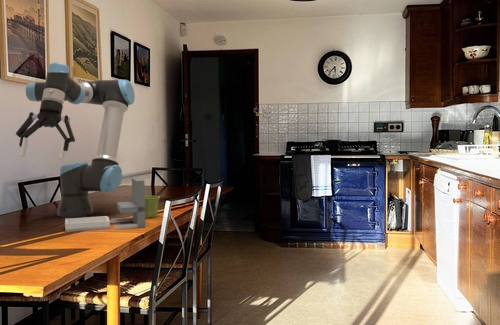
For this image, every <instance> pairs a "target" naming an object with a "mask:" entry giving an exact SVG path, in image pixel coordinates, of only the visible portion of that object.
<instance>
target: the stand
mask: <svg viewBox="0 0 500 325" xmlns="http://www.w3.org/2000/svg"><path fill="white" fill-rule="evenodd" d="M145 190H146V189H145V180H144V179H142V178H141V177H139V176H137V177H135V176H133V177H131V201H123V202H121V201H120V202H119V201H118V202H117V203H116V208H117V210H118V211H119V212H120V214H130V213H131V214H132V217H131V216H130V217H119V218H117V217H116V218H115V217H114V218H111V219H110V224H111V223H112V224H113V223H114V225H113V227H114V228H113V229H114V230H123V229H138V228H146V226H147V225H146V218H145V196H146V194H145V193H146V192H145ZM127 222H129V223H127ZM130 222H132V223H130ZM115 223H120V224H115ZM121 223H122V224H121ZM124 223H125V224H124Z"/></svg>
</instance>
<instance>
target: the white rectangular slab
mask: <svg viewBox="0 0 500 325" xmlns="http://www.w3.org/2000/svg"><path fill="white" fill-rule="evenodd" d="M64 219H65V220H64V228H65V231H64V232H65V233H70V232H71V233H72V232H83V231H98V230H110V229H111V219H110V217H109V216H107V215H104V216H103V215H101V216H89V217H87V216H85V217H69V218H64Z"/></svg>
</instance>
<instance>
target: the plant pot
mask: <svg viewBox="0 0 500 325" xmlns="http://www.w3.org/2000/svg"><path fill="white" fill-rule="evenodd" d="M160 198H161V196H160V195H145V219H146V218H147V219H150V218H152V219H153V218H156V217H157V216H158V209H159V201H160Z"/></svg>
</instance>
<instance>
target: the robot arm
mask: <svg viewBox="0 0 500 325" xmlns="http://www.w3.org/2000/svg"><path fill="white" fill-rule="evenodd" d="M45 77H46V79H45V81H43V82H42V81H41V82H40V81H39V82H37V81H35V82H29V83H27V85H26V87H25V96H26V98H27V99H28V100H29V101H31V102H41V103H40V107H39V112H38V114H37V113H34V112H32V111H30V112H29V115H28V117H27V119H26V120H25V121H24V122H23V123H22V125H21V126H20V127H19V129H18V130H17V131H16V132H15V135H16V137H18V138H20V140H19V146H18V147H20V152H19V155H20V157H22V158H25V157H26V153H27V152H26V151H27V146H28V143H29V139H28V138H29V137H30V136H31V135H33V134H34V133H35V132H36V131H37V130H39V129H42V127H44V128H52V129H53V128H56V129H57V131H58V132H59V134H60V135H61V137H62V139H63V140H62V141H61V144H60V151H59V152H60V153H59V156H58V159H59V160H60V161H64V158H65V154H66V152H68V150H69V145H70V143H72V142H73V143H75V142H76V139H75V135H74V133H73V129H72V128H71V123H70V121H71V120H70V117H69V115H66V114H65V116H62V113H63V108H64V102H68V103H69V104H73V105H79V104H90V105H95V106H96V105H98V106H102V107H103V108H104V113H103V116H102V117H103V118H102V124H101V129H100V135H99V140H98V144H97V151H96V156H95V157H93V158H92V160H91V164H89V163H88V161H82V162H75V163H67V164H63V165H61V167H60V171H59V179H60V180H59V181H60V201H59V205H58V206H57V207H58V208H57V211H56V212H57V217H60V218H61V217H62V218H79V217H87V216H91V215H93V214H94V208H93V205H92V203H91V199H90V196H89V192H98V193H99V192H103V193H107V192H115V191H116V190H117V189H118V188H119V187H120V184H121V183H122V179H123V174H122V173H123V171H122V170H123V169H122V167H121V166H120V164H119V162H118V160H117V156H118V150H119V143H120V138H121V131H122V125H123V122H124V121H123V119H124V115H125V113H126V112H127V111H129V110H128V109H129V106H130V105H133V104H134V102H135V98H136V94H135V90H134V87H133V84H132V82H130V80H128V79H121V78H120V79H108V80H107V79H104V80H103V79H99V80H92V81H85V82H83V81H81V82H79V83H77V81H75V80H74V79H73V78H72V77H71V76H70V67H69V66H68V65H67V64H64V63H62V62H52V63H50V64H49V66H48V69H47V72H46V76H45ZM36 119H38V120H36ZM35 120H36V121H35ZM34 121H35V122H34ZM60 122H63V123H64V125H65V129H66V131H67V133H68V136H67V135H66V133H65V132H64V130H63V129H62V128H61V126H60V124H59V123H60Z"/></svg>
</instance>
